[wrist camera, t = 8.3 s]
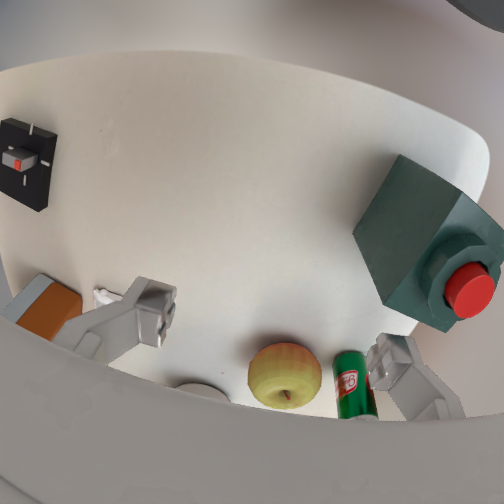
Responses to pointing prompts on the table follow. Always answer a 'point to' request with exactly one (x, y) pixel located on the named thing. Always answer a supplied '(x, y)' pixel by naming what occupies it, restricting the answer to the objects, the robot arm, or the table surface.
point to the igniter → (424, 242)
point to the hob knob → (20, 158)
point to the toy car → (104, 297)
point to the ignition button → (469, 290)
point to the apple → (284, 376)
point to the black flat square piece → (35, 178)
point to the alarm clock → (43, 307)
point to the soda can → (353, 388)
